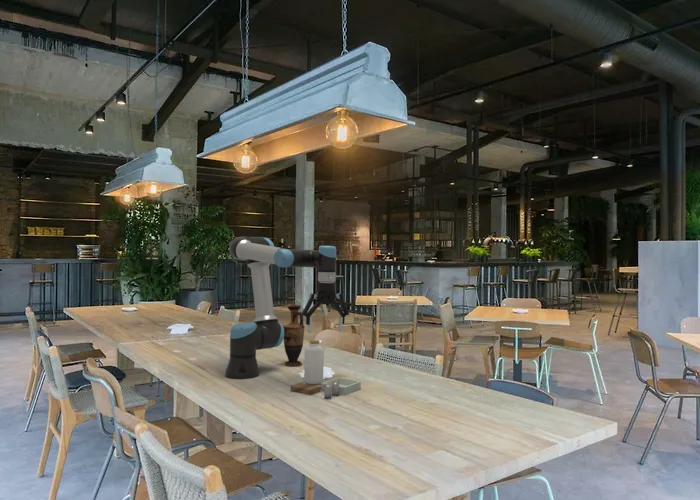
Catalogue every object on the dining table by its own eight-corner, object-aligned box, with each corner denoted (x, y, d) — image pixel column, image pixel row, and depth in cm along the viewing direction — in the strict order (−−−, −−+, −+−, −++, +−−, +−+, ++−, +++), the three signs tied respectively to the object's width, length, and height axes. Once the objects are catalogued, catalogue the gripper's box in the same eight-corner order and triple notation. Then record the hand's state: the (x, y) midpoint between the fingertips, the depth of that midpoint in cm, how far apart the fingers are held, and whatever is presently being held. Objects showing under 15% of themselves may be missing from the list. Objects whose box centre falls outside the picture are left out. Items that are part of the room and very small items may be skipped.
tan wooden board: (290, 392, 203) (290, 386, 203) (301, 388, 208) (301, 382, 209) (309, 396, 197) (310, 390, 197) (320, 392, 203) (320, 386, 203)
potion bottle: (320, 385, 212) (321, 343, 212) (301, 384, 214) (302, 342, 214) (325, 380, 220) (326, 340, 221) (307, 379, 222) (307, 339, 222)
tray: (320, 390, 205) (320, 383, 205) (337, 384, 214) (337, 377, 215) (344, 395, 198) (344, 387, 198) (360, 388, 208) (360, 381, 208)
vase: (278, 365, 249) (279, 305, 249) (288, 361, 259) (289, 303, 260) (297, 367, 245) (298, 306, 245) (307, 363, 255) (308, 304, 255)
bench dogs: (322, 398, 193) (323, 385, 193) (334, 393, 200) (334, 381, 200) (328, 399, 192) (328, 386, 192) (340, 395, 198) (340, 382, 198)
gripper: (300, 282, 204) (298, 334, 204) (357, 282, 213) (355, 332, 213) (295, 281, 211) (294, 331, 211) (350, 281, 220) (349, 330, 220)
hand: (325, 332), depth 212 cm, fingers open, 13 cm apart
